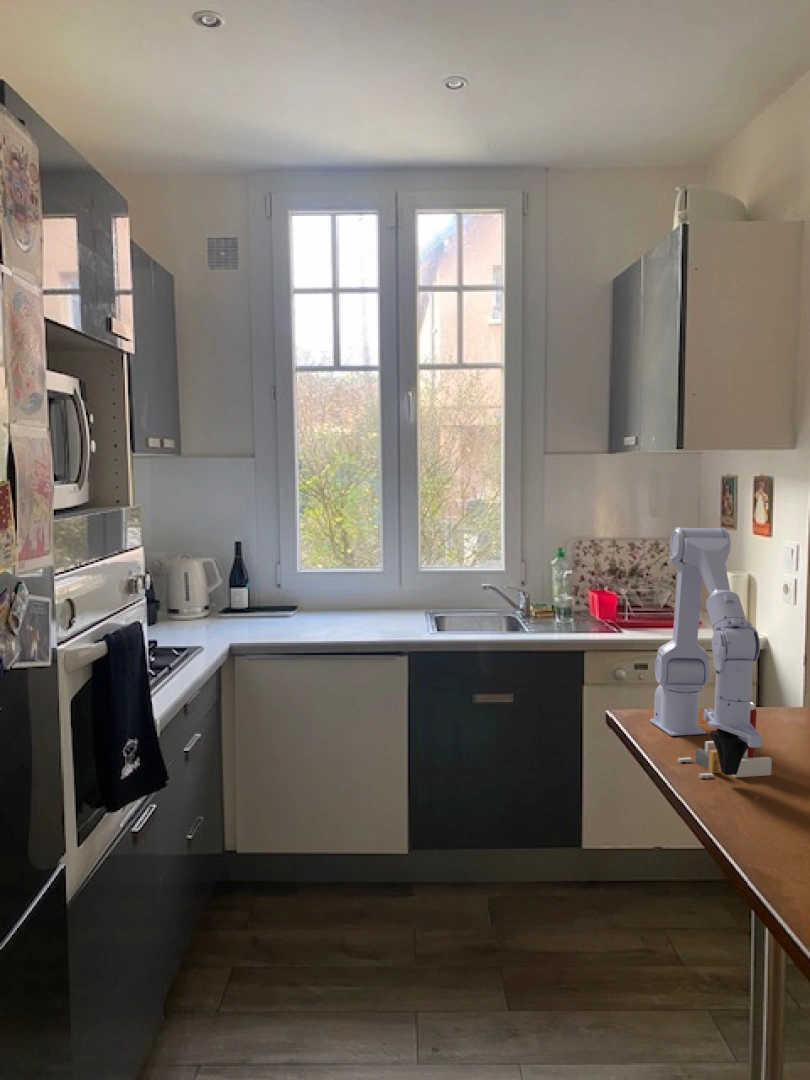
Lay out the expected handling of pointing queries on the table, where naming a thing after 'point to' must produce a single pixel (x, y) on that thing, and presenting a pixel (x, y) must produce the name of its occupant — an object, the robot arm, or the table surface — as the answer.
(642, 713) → the table surface
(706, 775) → the strips
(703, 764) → the bar
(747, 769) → the clip holder
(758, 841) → the table surface
